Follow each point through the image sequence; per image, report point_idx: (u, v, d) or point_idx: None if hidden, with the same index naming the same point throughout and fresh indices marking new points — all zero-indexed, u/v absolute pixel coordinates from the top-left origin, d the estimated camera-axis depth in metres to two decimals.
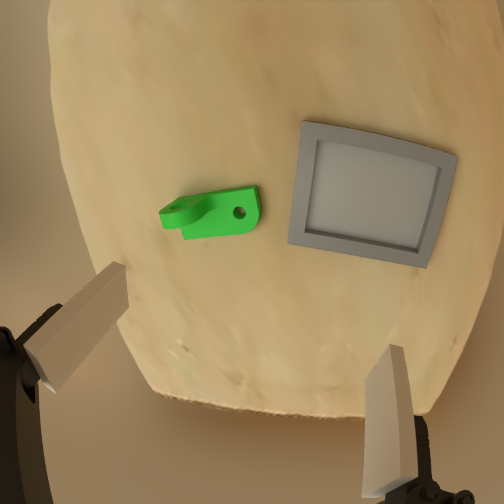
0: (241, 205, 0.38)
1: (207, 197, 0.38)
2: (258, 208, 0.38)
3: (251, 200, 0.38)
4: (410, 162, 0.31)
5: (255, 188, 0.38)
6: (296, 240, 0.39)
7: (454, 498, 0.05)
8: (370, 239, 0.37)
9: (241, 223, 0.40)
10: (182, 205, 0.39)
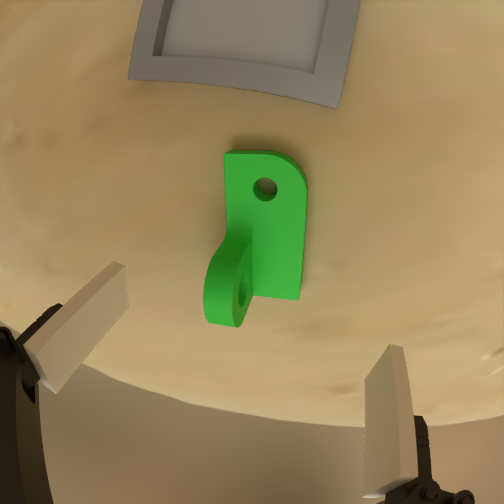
0: (251, 182, 0.21)
1: (227, 235, 0.23)
2: (263, 153, 0.20)
3: (244, 162, 0.20)
4: None
5: (230, 151, 0.21)
6: (330, 90, 0.16)
7: (454, 498, 0.05)
8: None
9: (286, 191, 0.21)
10: None
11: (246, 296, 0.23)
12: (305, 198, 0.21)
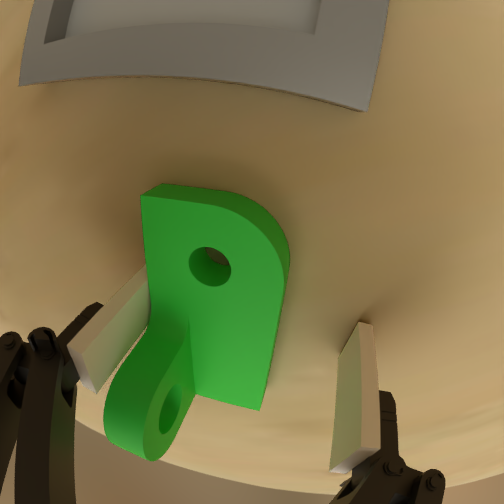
0: (186, 251, 0.12)
1: (151, 325, 0.13)
2: (209, 201, 0.11)
3: (174, 214, 0.11)
4: None
5: (156, 189, 0.12)
6: (352, 70, 0.07)
7: (421, 479, 0.06)
8: None
9: (247, 276, 0.11)
10: None
11: (179, 409, 0.14)
12: (281, 291, 0.11)
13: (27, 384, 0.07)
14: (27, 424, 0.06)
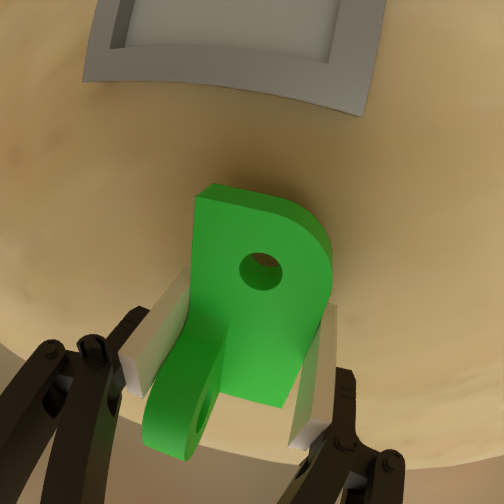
0: (238, 255, 0.12)
1: (187, 325, 0.14)
2: (269, 209, 0.11)
3: (231, 219, 0.11)
4: None
5: (208, 191, 0.12)
6: (353, 89, 0.11)
7: (376, 461, 0.07)
8: None
9: (297, 283, 0.12)
10: None
11: (209, 408, 0.14)
12: (327, 298, 0.12)
13: (70, 390, 0.07)
14: (65, 432, 0.06)
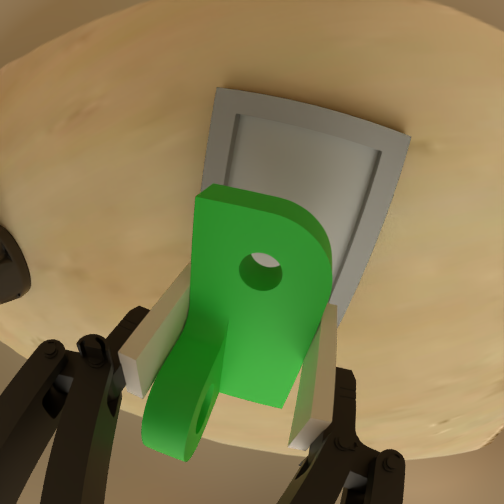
0: (238, 255, 0.12)
1: (187, 325, 0.14)
2: (269, 209, 0.11)
3: (231, 219, 0.11)
4: (239, 157, 0.25)
5: (208, 191, 0.12)
6: None
7: (376, 461, 0.07)
8: (354, 223, 0.25)
9: (297, 283, 0.12)
10: None
11: (208, 408, 0.14)
12: (327, 298, 0.12)
13: (70, 390, 0.07)
14: (65, 432, 0.06)
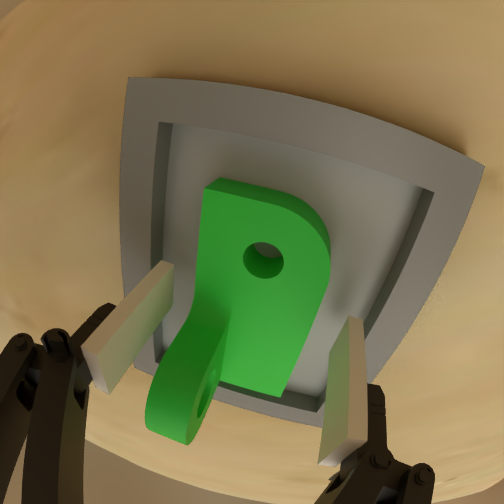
0: (242, 244, 0.13)
1: (192, 312, 0.14)
2: (272, 201, 0.12)
3: (236, 210, 0.12)
4: (176, 196, 0.15)
5: (216, 184, 0.13)
6: None
7: (409, 473, 0.06)
8: (371, 305, 0.15)
9: (298, 271, 0.13)
10: None
11: (210, 394, 0.15)
12: (325, 287, 0.13)
13: (38, 385, 0.07)
14: (37, 426, 0.06)
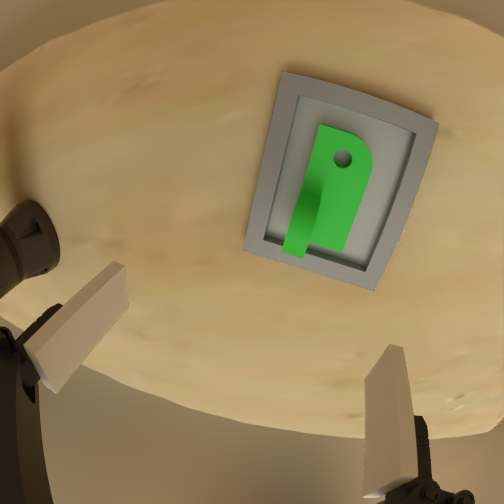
0: (334, 150, 0.26)
1: (303, 186, 0.28)
2: (348, 133, 0.25)
3: (333, 134, 0.25)
4: (297, 132, 0.28)
5: (322, 124, 0.26)
6: (372, 281, 0.31)
7: (454, 498, 0.05)
8: (392, 193, 0.28)
9: (358, 165, 0.26)
10: None
11: None
12: (370, 173, 0.26)
13: None
14: None
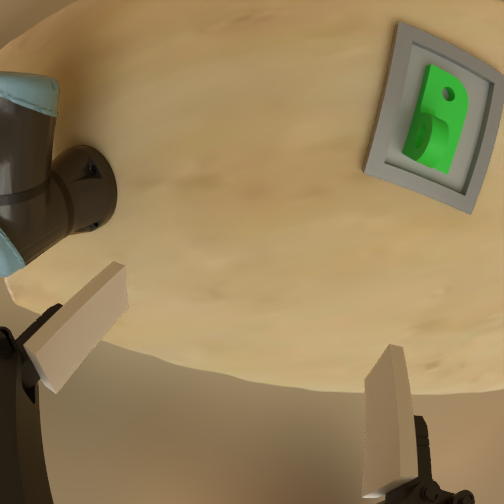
0: (442, 86, 0.24)
1: (421, 111, 0.26)
2: None
3: (441, 74, 0.23)
4: (409, 72, 0.26)
5: None
6: (470, 205, 0.29)
7: (454, 498, 0.05)
8: (479, 129, 0.26)
9: (459, 100, 0.24)
10: (418, 139, 0.26)
11: None
12: (467, 108, 0.24)
13: None
14: None
